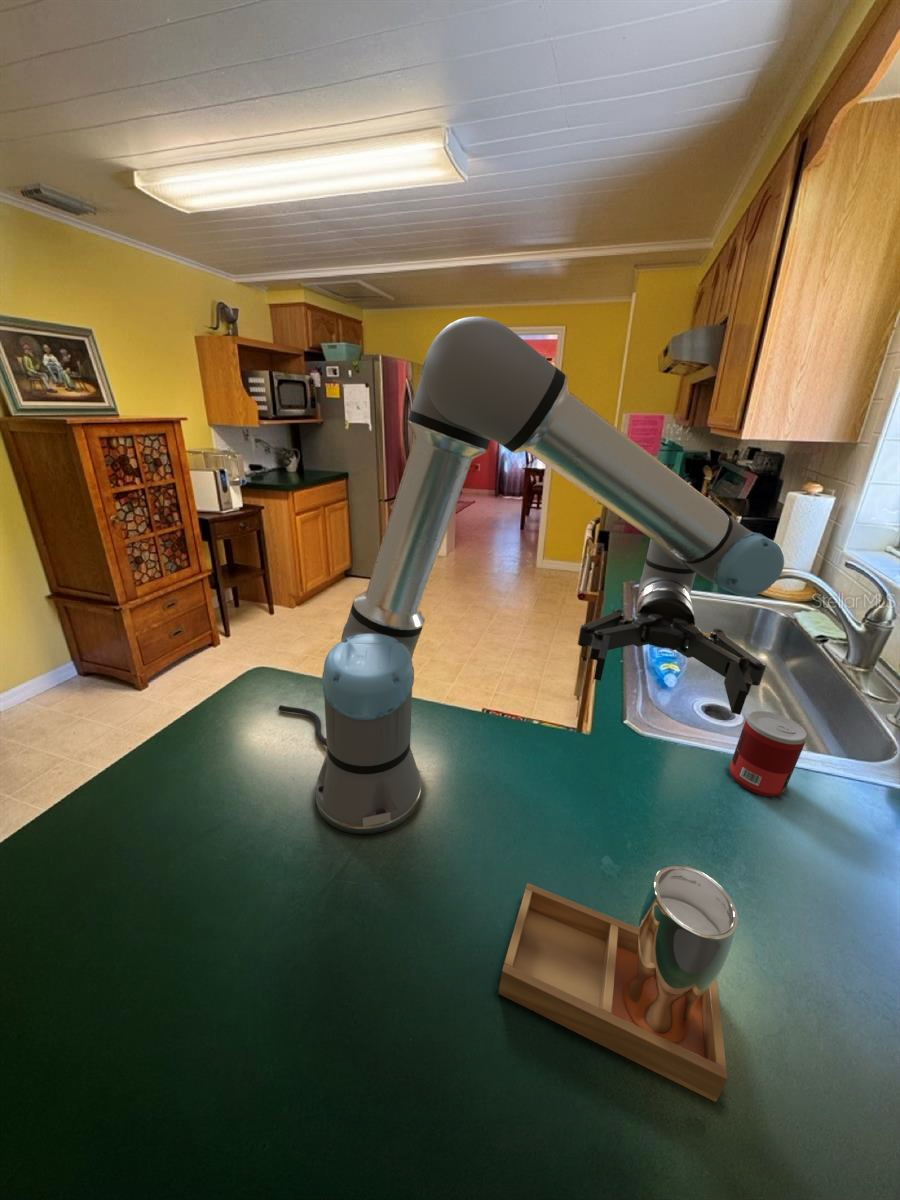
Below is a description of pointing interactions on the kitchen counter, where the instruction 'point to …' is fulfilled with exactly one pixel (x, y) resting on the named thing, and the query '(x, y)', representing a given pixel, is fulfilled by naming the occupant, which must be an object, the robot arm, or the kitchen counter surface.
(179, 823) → the kitchen counter surface
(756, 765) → the canned food
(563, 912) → the tray
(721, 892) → the metal tumbler cup
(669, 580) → the robot arm
